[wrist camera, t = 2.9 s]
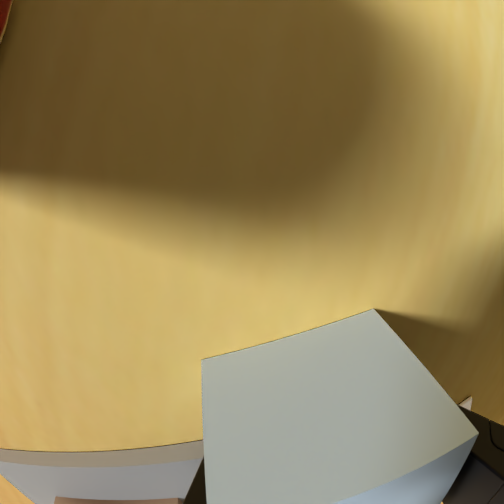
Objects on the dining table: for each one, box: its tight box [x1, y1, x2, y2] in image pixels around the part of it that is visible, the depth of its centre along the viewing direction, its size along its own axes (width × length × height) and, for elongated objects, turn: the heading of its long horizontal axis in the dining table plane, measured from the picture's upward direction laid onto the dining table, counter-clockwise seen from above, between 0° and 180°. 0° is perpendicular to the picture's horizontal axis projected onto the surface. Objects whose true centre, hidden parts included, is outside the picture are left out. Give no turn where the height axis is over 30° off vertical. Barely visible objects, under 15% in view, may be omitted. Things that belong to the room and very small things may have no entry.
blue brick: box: [201, 309, 479, 504], centre depth 7 cm, size 5×5×5 cm
